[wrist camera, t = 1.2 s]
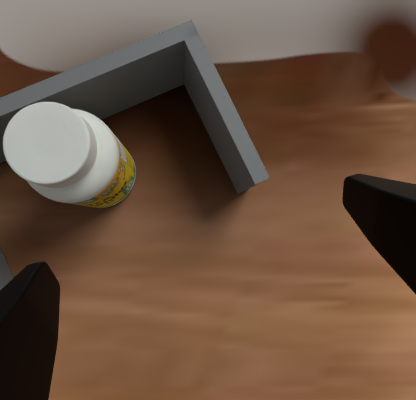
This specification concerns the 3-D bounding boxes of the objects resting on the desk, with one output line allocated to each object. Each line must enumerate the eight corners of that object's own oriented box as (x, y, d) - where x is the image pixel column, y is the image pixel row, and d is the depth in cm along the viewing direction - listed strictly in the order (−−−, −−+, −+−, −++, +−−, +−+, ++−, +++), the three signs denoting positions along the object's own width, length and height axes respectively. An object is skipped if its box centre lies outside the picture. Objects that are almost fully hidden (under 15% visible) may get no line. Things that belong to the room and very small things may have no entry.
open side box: (248, 188, 24) (269, 177, 19) (10, 304, 22) (-53, 333, 16) (189, 68, 25) (191, 20, 19) (-51, 171, 23) (-134, 152, 17)
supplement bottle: (119, 129, 24) (76, 68, 14) (148, 190, 24) (125, 167, 14) (55, 158, 23) (-33, 114, 14) (84, 220, 23) (16, 218, 14)
